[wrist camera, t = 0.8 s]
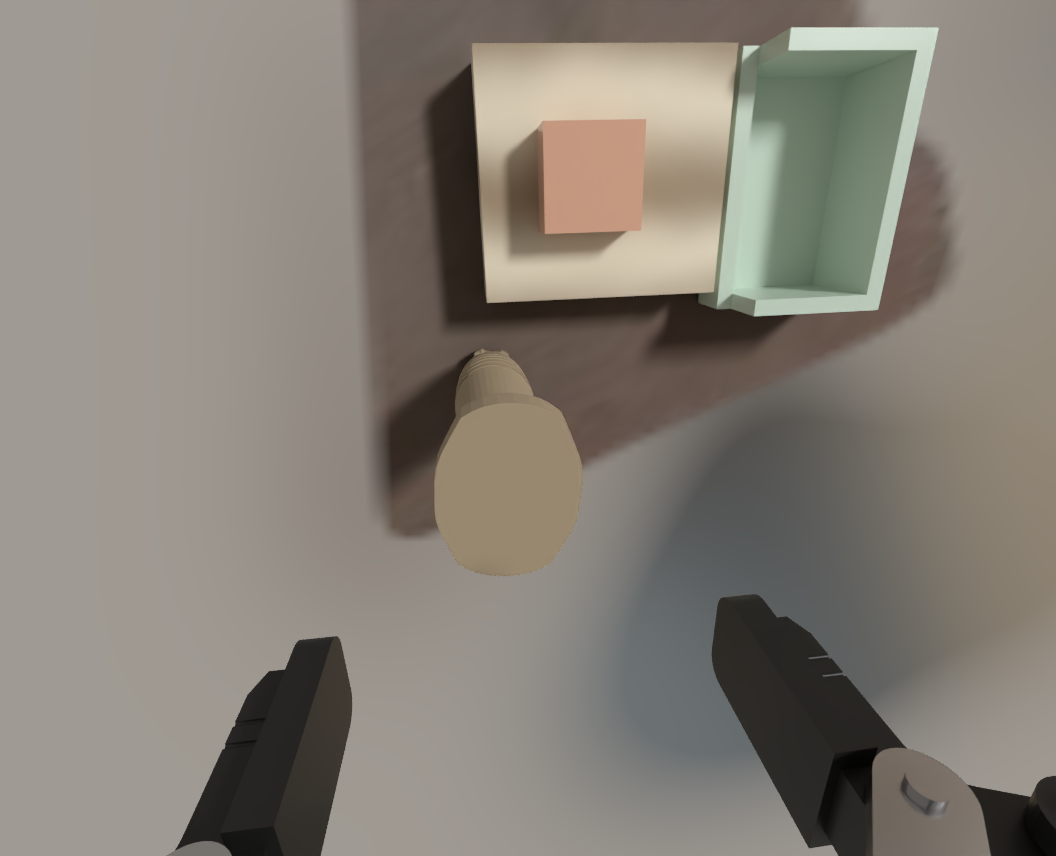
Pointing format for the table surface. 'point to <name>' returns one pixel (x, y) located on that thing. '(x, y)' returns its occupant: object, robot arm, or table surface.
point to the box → (817, 168)
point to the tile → (590, 175)
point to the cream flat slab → (669, 166)
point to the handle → (505, 472)
